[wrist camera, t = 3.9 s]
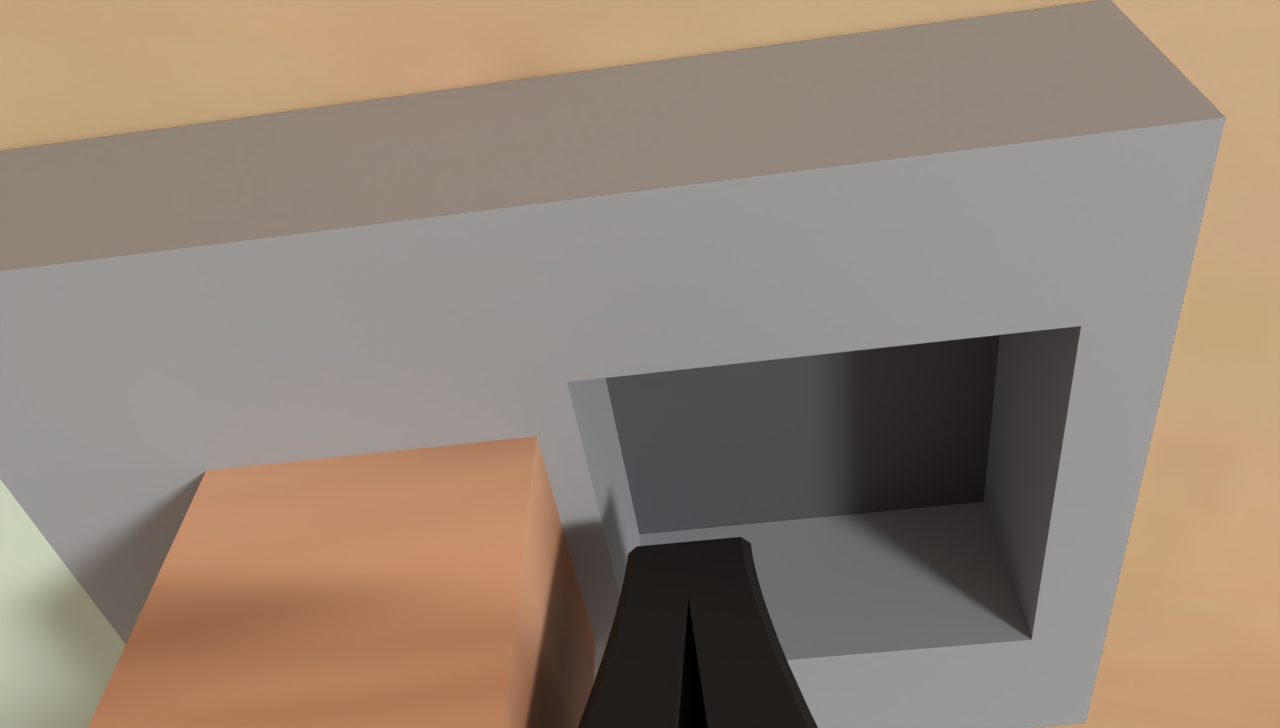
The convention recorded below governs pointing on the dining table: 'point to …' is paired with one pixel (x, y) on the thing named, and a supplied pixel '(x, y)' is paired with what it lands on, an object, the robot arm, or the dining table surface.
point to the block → (364, 599)
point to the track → (643, 339)
